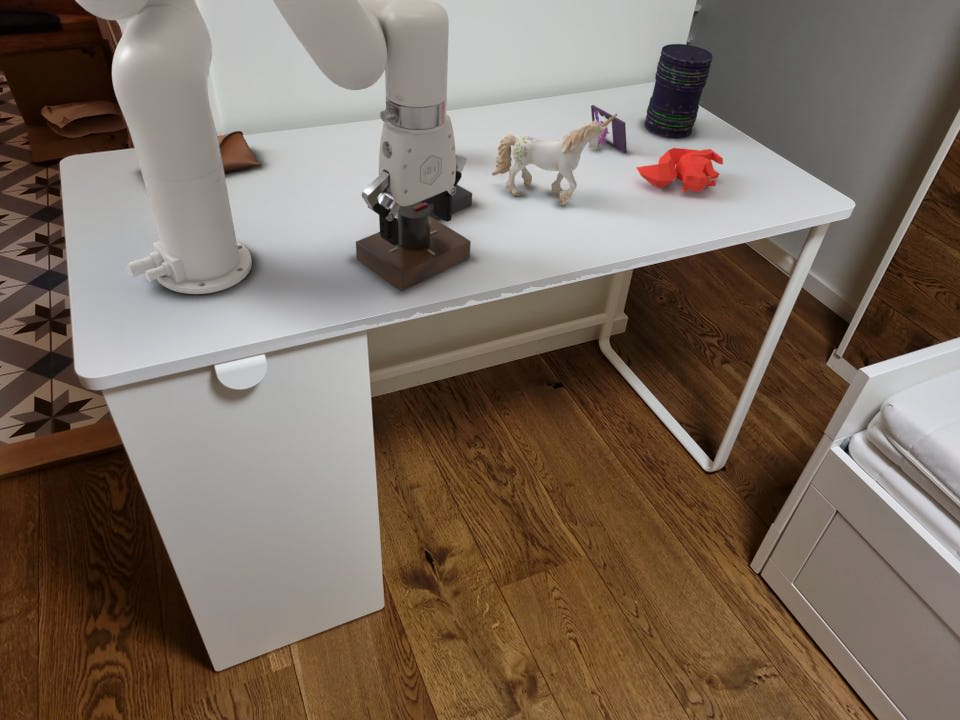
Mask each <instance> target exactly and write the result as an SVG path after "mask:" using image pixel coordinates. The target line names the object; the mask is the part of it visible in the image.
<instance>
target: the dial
mask: <svg viewBox="0 0 960 720" xmlns="http://www.w3.org/2000/svg"><path fill="white" fill-rule="evenodd" d="M397 219H398V232H399V245H401V246H402V247H404V248H406V249H411V250H418V249H423V248H425V247H427V246H428V245H429V243H430V228H431V209H430V207H429V206H428V204H427V203H426V202H425V203H420V202H418V203H415V204H413V205H410V206H400V208H399V210H398V212H397Z"/></svg>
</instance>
